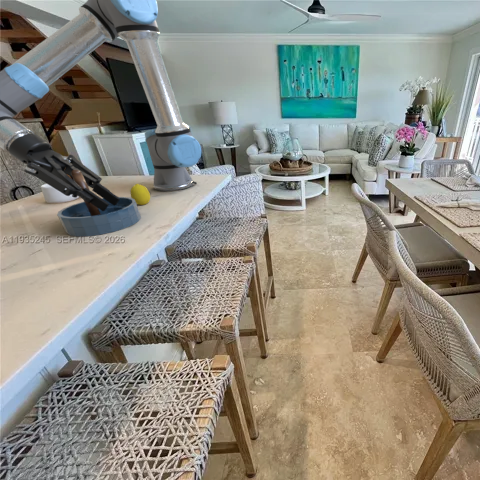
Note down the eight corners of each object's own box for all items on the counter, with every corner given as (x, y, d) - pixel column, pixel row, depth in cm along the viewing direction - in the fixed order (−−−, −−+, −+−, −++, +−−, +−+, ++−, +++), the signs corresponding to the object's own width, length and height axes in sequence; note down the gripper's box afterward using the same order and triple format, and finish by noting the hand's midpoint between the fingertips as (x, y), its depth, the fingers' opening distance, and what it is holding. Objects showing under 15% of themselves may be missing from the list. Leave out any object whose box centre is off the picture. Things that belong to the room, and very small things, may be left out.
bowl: (138, 210, 89) (132, 193, 86) (145, 228, 76) (138, 208, 73) (69, 223, 79) (60, 204, 76) (64, 245, 67) (53, 223, 64)
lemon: (150, 202, 96) (143, 180, 93) (155, 206, 93) (148, 183, 89) (133, 206, 93) (125, 183, 89) (137, 210, 89) (129, 186, 86)
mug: (40, 205, 94) (32, 188, 91) (54, 197, 102) (46, 182, 99) (81, 201, 97) (74, 185, 94) (91, 194, 105) (85, 179, 103)
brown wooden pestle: (114, 217, 81) (92, 166, 74) (108, 224, 76) (83, 170, 69) (91, 221, 79) (66, 169, 72) (83, 228, 74) (55, 173, 67)
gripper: (46, 149, 76) (124, 203, 84) (-20, 160, 61) (82, 225, 68) (57, 129, 73) (136, 187, 81) (-10, 135, 58) (95, 206, 66)
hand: (111, 204), depth 75 cm, fingers open, 4 cm apart
